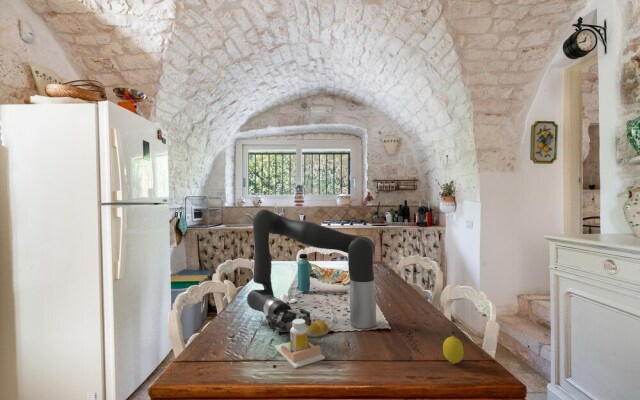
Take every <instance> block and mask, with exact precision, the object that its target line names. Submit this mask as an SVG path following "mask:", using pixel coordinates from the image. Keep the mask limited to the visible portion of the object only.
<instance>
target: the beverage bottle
mask: <svg viewBox="0 0 640 400" xmlns="http://www.w3.org/2000/svg"><path fill="white" fill-rule="evenodd" d="M299 259H301V260H299V261H297V262H296V263H297V290H298V291H299V292H309V291H310V290H311V281H310V280H311V276H310V274H311V272H310V261H309V260H308V254H307V253H300V254H299ZM306 259H307V260H306Z"/></svg>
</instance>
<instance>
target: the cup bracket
mask: <svg viewBox="0 0 640 400" xmlns="http://www.w3.org/2000/svg"><path fill="white" fill-rule="evenodd" d="M274 349H276V350H277V352H278V353H280V354H281V356H282V357H283V358H284V359H286V360H287V362H289V364H291V366H292V367H293V368H294V369H296V368H300V367H304V366H306V365H309V364H312V363H316V362H318V361H323V360H325V359H326V357H325V356H324V354H321V346H320V345H313V344H312V343H311V342H310V341H309V340H307V349H304V350H300V351H297V352H293V353H291V351H290V341H289V342H283V343H281V344H277V345H274Z"/></svg>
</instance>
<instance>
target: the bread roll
mask: <svg viewBox="0 0 640 400" xmlns="http://www.w3.org/2000/svg"><path fill="white" fill-rule="evenodd" d="M305 327H306V328H307V337H309V338H310V337H311V338H317V337H321V336H325V335H327V334H328V333H329V329H330V328H329V326H328V324H327V323H326V322H325V321H324V320H316V321H311V326H307V325H306V324H305Z"/></svg>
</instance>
